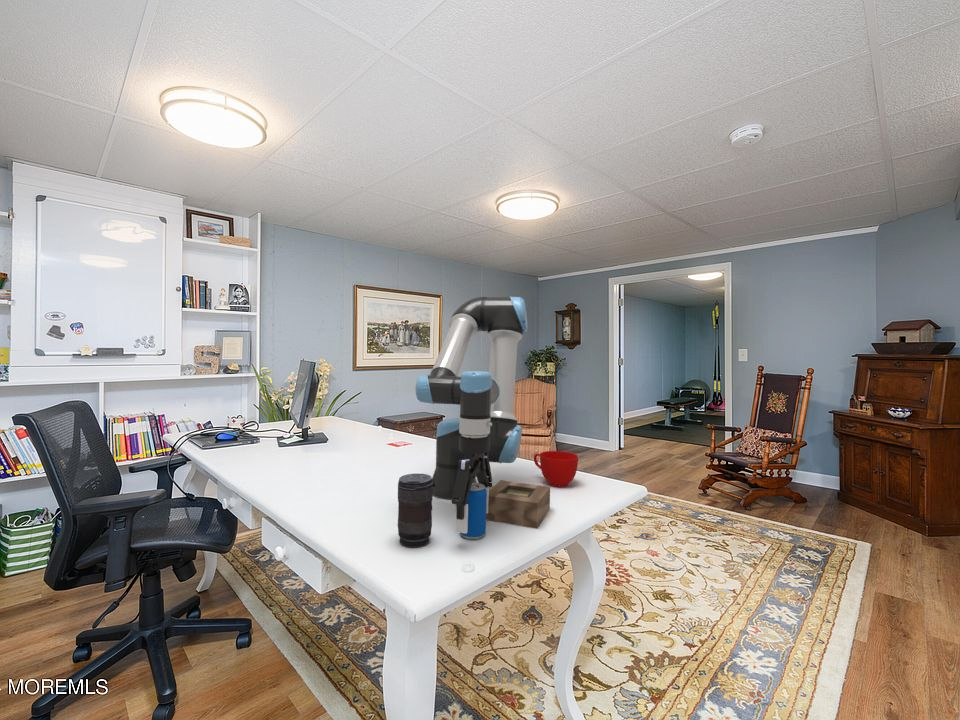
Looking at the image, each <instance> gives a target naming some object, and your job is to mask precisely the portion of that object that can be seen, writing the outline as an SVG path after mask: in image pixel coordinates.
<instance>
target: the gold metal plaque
mask: <svg viewBox="0 0 960 720" xmlns="http://www.w3.org/2000/svg"><path fill="white" fill-rule="evenodd" d="M505 493H506V494H512V495H519V496H526V497H527V496H528V495H529V494H530V493H531V492H527V491H520V490H513V489H509V490H507V491H506V492H505Z"/></svg>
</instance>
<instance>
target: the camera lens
mask: <svg viewBox="0 0 960 720" xmlns="http://www.w3.org/2000/svg"><path fill="white" fill-rule="evenodd" d="M432 477H433V476H431V475H430V474H427V473H408V474H405V475H404V474H403V475H402V476H400V477H398V482H397V502H398V507H397V510H398V512H397V515H398V516H397V529H398V530H397V531H398V537H399V542H400V544H401V545H402V546H404V547H406V548H420V547H423V546H426V545H427V544H429V541H430V536H431V534H432V526H433V515H432V514H433V497H434V495H433V482H432Z"/></svg>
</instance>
